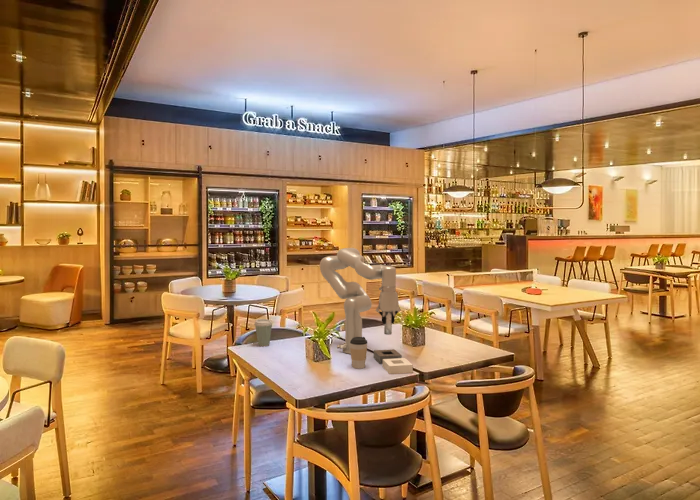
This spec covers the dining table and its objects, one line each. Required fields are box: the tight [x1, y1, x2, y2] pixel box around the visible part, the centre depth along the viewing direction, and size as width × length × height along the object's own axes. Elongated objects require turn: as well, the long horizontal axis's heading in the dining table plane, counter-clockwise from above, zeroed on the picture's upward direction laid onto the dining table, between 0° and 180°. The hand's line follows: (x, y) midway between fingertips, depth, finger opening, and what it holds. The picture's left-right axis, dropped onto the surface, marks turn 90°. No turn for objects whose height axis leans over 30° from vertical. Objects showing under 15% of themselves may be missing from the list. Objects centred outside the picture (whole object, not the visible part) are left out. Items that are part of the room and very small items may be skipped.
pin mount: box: [373, 348, 403, 365], centre depth 263 cm, size 12×12×4 cm
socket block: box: [381, 357, 414, 375], centre depth 246 cm, size 12×12×4 cm
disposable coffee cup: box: [254, 318, 273, 347], centre depth 290 cm, size 11×11×15 cm
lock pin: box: [383, 311, 393, 336], centre depth 261 cm, size 4×4×12 cm
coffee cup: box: [350, 336, 368, 370], centre depth 251 cm, size 9×9×15 cm
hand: (388, 323), depth 261 cm, fingers closed on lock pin, 4 cm apart
